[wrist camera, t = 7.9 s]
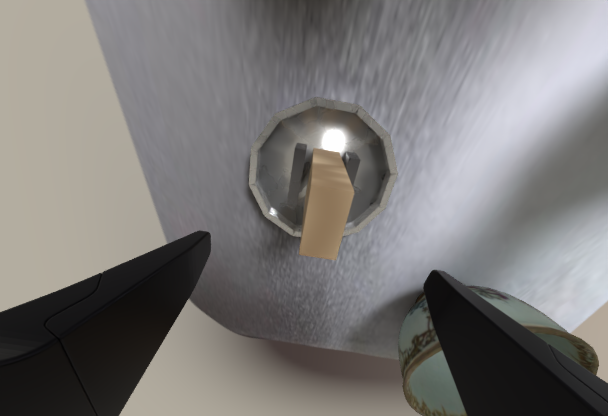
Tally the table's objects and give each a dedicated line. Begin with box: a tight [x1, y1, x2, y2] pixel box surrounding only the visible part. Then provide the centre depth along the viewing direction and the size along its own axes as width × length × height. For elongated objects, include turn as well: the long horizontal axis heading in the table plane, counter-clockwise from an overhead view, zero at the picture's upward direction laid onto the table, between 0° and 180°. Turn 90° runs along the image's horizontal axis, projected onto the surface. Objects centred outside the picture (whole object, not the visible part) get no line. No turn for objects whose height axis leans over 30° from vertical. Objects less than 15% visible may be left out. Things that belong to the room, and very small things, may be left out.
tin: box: [249, 97, 398, 237], centre depth 18 cm, size 11×11×2 cm
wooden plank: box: [299, 148, 354, 260], centre depth 15 cm, size 2×4×8 cm, turn 171°
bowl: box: [398, 286, 599, 416], centre depth 21 cm, size 14×13×8 cm
